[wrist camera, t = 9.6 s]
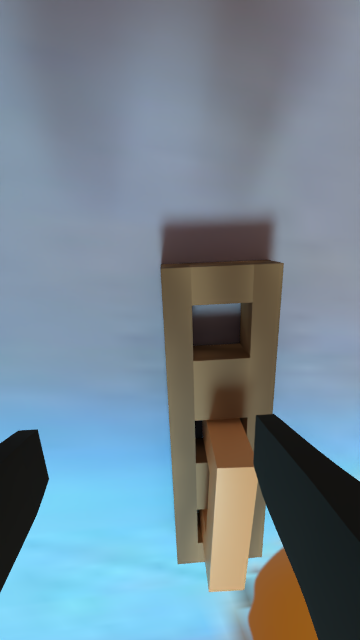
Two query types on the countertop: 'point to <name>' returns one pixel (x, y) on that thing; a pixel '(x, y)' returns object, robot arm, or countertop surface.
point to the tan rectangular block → (228, 503)
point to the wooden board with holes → (216, 378)
